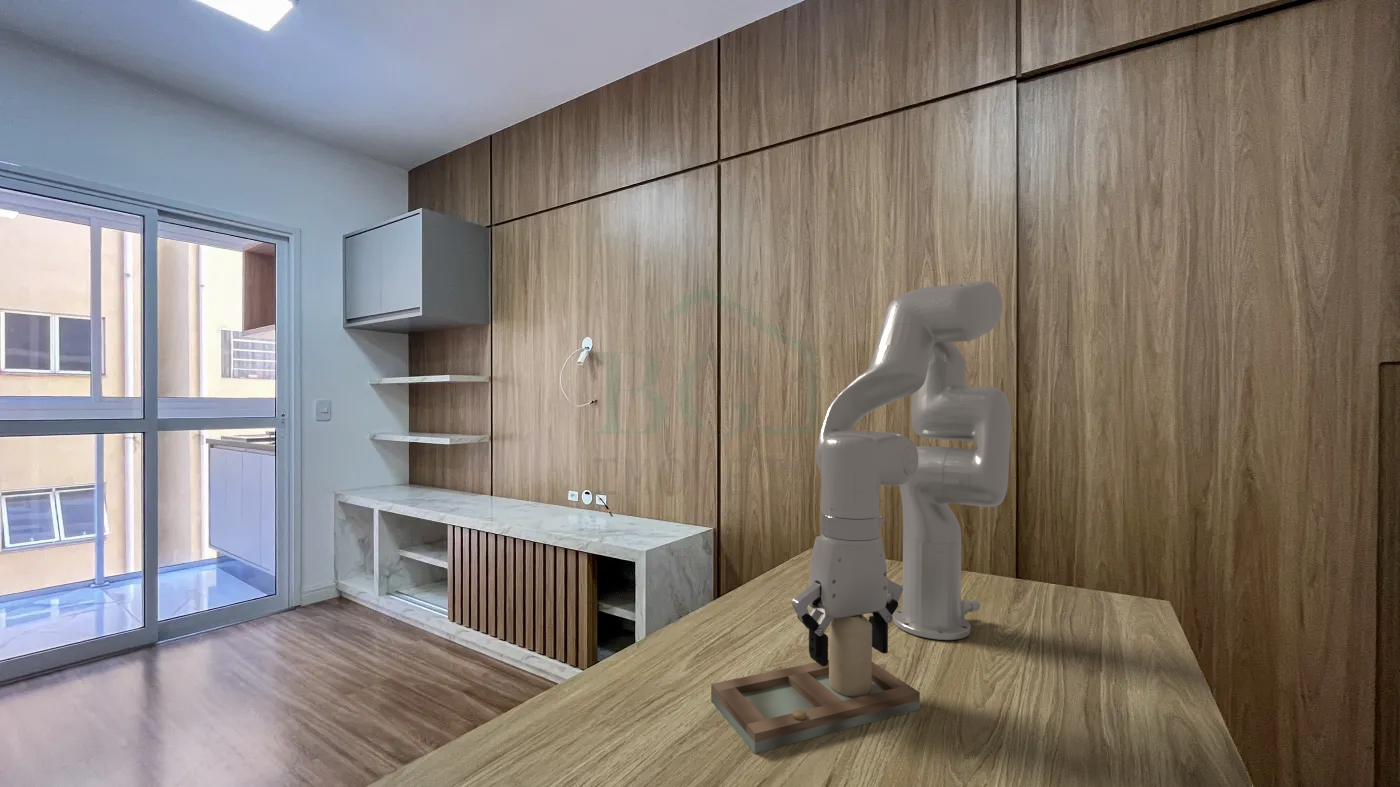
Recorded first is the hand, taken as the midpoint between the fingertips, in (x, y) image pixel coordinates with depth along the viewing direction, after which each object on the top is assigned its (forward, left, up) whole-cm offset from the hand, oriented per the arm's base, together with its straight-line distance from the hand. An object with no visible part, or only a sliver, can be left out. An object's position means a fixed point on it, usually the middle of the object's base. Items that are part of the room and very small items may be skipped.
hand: (849, 655), depth 76 cm
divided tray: (+6, 0, -6) cm, 8 cm away
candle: (0, 0, -4) cm, 5 cm away
